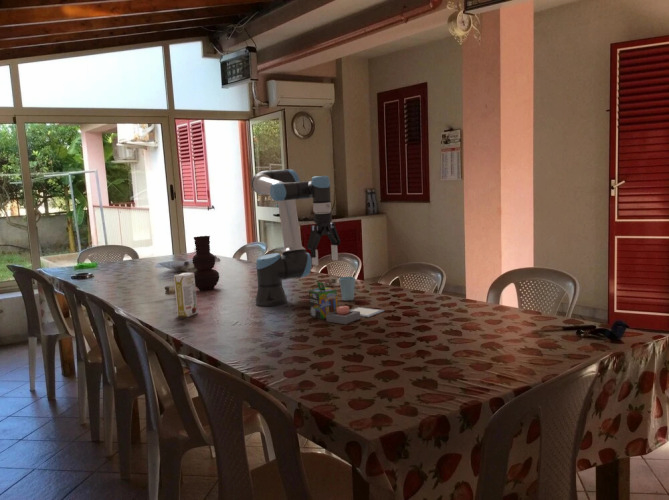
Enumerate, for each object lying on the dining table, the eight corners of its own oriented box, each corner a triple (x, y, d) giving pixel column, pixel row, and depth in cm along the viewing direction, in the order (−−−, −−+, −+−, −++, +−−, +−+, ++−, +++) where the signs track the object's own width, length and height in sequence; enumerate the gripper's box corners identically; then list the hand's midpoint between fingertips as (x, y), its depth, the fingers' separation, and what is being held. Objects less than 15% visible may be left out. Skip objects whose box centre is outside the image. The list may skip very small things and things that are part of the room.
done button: (334, 314, 236) (333, 307, 236) (342, 311, 240) (341, 305, 240) (344, 316, 233) (343, 309, 233) (351, 313, 237) (351, 306, 237)
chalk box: (339, 315, 244) (337, 281, 243) (320, 319, 240) (318, 285, 238) (327, 312, 252) (326, 279, 250) (309, 315, 248) (307, 282, 246)
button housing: (326, 321, 236) (326, 314, 236) (341, 315, 244) (341, 309, 244) (345, 324, 230) (345, 317, 230) (360, 318, 238) (359, 311, 237)
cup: (359, 299, 273) (357, 278, 272) (344, 301, 270) (343, 280, 269) (352, 296, 280) (350, 275, 279) (337, 299, 277) (336, 277, 276)
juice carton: (200, 312, 265) (196, 272, 262) (188, 317, 257) (184, 275, 254) (187, 312, 268) (183, 272, 265) (174, 316, 260) (171, 275, 258)
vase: (226, 288, 321) (221, 235, 317) (206, 293, 308) (201, 238, 304) (206, 286, 330) (201, 234, 326) (186, 292, 317) (181, 238, 313)
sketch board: (342, 313, 248) (341, 312, 247) (358, 307, 257) (358, 306, 257) (368, 317, 239) (368, 316, 239) (384, 311, 248) (384, 310, 248)
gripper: (310, 215, 229) (313, 267, 232) (347, 210, 249) (349, 258, 252) (296, 215, 234) (299, 266, 237) (333, 210, 253) (335, 257, 256)
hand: (325, 262), depth 244 cm, fingers open, 13 cm apart
